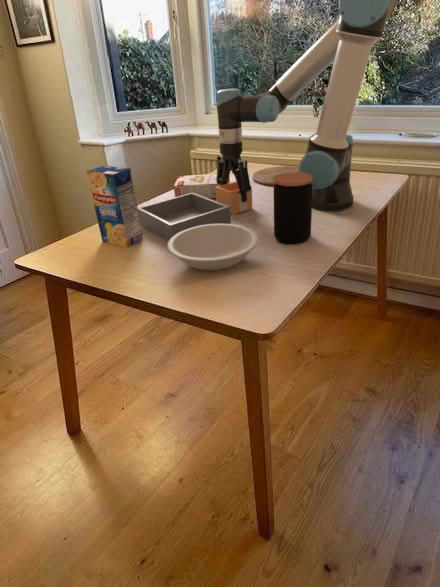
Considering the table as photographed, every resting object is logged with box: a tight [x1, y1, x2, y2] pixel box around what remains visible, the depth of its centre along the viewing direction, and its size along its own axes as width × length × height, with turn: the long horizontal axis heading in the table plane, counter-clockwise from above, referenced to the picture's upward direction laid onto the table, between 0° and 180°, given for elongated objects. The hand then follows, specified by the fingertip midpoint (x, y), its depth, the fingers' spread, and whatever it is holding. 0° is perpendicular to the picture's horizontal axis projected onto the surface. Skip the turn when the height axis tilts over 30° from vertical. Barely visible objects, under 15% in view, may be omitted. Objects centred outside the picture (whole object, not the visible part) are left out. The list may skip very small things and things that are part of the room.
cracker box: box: [173, 173, 231, 199], centre depth 169 cm, size 14×6×21 cm
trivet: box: [252, 165, 299, 187], centre depth 182 cm, size 25×25×2 cm
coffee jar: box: [273, 172, 313, 245], centre depth 123 cm, size 11×11×18 cm
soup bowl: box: [167, 223, 259, 271], centre depth 115 cm, size 24×24×7 cm
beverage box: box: [86, 165, 144, 249], centre depth 129 cm, size 7×11×22 cm, turn 57°
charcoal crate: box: [137, 192, 232, 243], centre depth 141 cm, size 22×22×6 cm
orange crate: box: [215, 180, 253, 216], centre depth 151 cm, size 9×9×8 cm
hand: (234, 207), depth 152 cm, fingers closed on orange crate, 9 cm apart
